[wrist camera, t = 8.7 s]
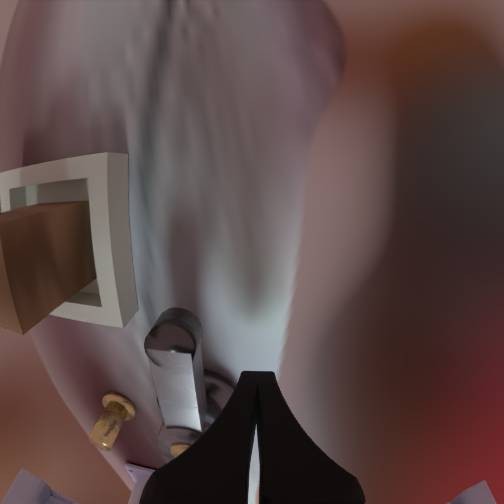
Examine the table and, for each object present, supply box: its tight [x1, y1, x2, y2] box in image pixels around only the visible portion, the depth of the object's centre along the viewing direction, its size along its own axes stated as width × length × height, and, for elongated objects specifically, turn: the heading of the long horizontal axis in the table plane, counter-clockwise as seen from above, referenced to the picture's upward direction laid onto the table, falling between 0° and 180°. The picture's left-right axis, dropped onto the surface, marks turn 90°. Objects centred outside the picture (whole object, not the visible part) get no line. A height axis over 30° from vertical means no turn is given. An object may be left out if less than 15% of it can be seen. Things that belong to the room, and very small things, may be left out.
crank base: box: [88, 369, 235, 451], centre depth 14 cm, size 6×10×4 cm, turn 89°
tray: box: [0, 152, 138, 328], centre depth 12 cm, size 8×8×2 cm
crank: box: [144, 308, 222, 459], centre depth 12 cm, size 9×3×3 cm, turn 179°
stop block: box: [0, 200, 97, 335], centre depth 10 cm, size 4×4×6 cm
